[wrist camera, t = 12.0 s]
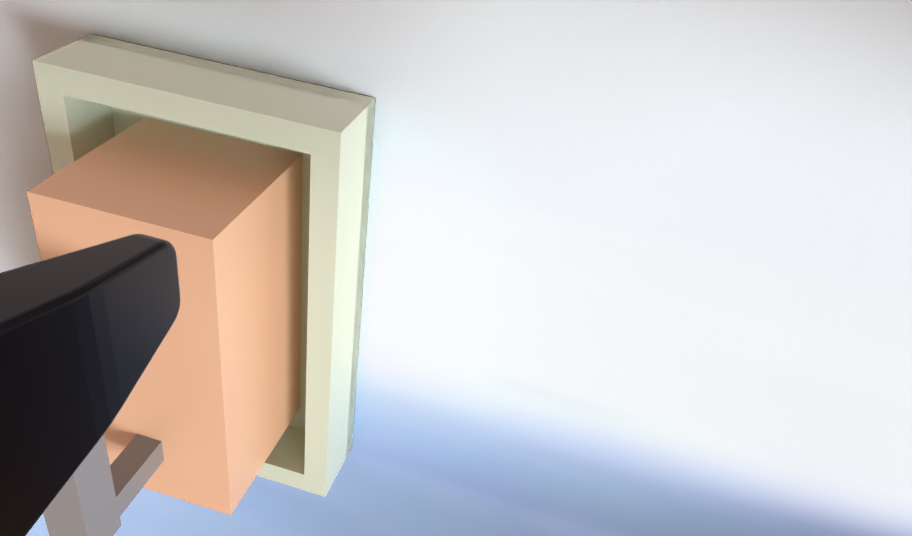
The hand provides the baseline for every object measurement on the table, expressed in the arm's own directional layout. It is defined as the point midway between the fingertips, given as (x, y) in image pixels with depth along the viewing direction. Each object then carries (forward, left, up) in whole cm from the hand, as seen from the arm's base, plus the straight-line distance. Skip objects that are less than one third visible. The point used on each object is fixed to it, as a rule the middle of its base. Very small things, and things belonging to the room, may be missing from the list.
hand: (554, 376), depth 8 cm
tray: (+11, +10, -13) cm, 20 cm away
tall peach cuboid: (+11, +10, -12) cm, 19 cm away
